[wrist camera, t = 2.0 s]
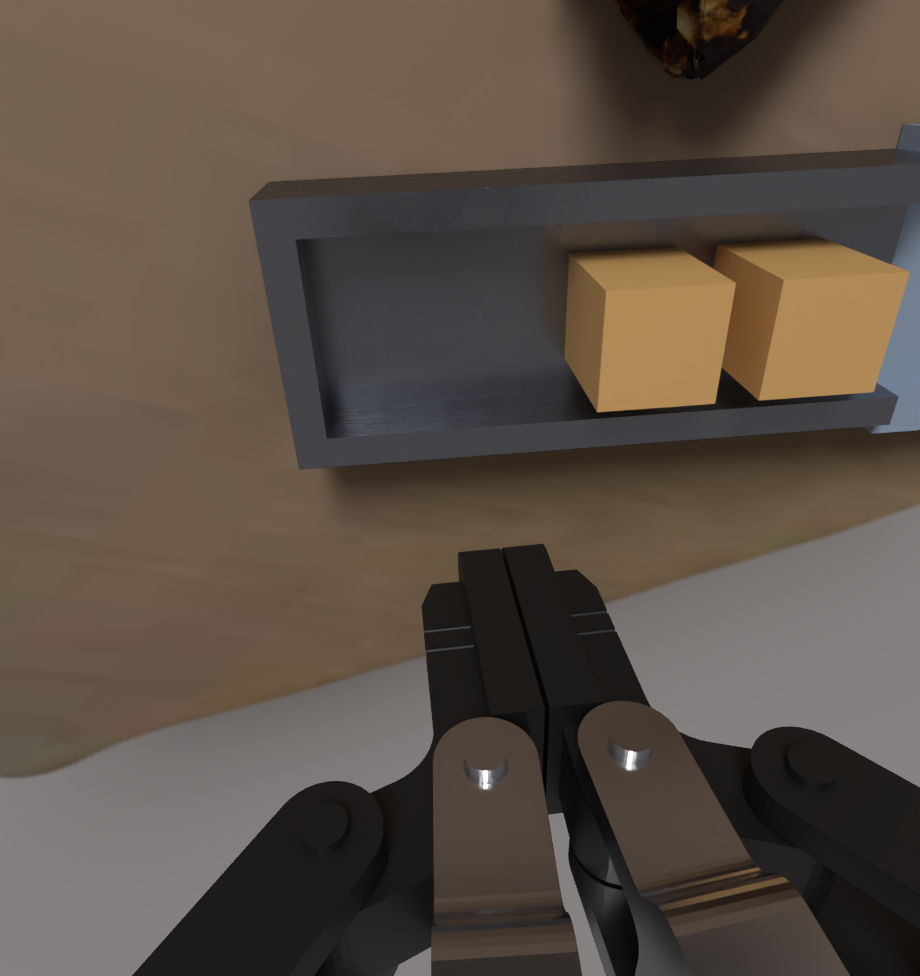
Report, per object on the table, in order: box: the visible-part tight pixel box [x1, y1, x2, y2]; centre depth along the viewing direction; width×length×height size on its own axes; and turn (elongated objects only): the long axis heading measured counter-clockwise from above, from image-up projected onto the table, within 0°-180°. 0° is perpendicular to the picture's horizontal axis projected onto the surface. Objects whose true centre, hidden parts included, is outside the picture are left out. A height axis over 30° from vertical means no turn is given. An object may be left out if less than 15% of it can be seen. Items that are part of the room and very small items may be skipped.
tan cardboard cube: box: [565, 247, 736, 412], centre depth 24 cm, size 4×4×5 cm
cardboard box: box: [713, 238, 910, 400], centre depth 24 cm, size 4×4×5 cm
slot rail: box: [249, 149, 920, 469], centre depth 25 cm, size 23×9×4 cm, turn 92°
